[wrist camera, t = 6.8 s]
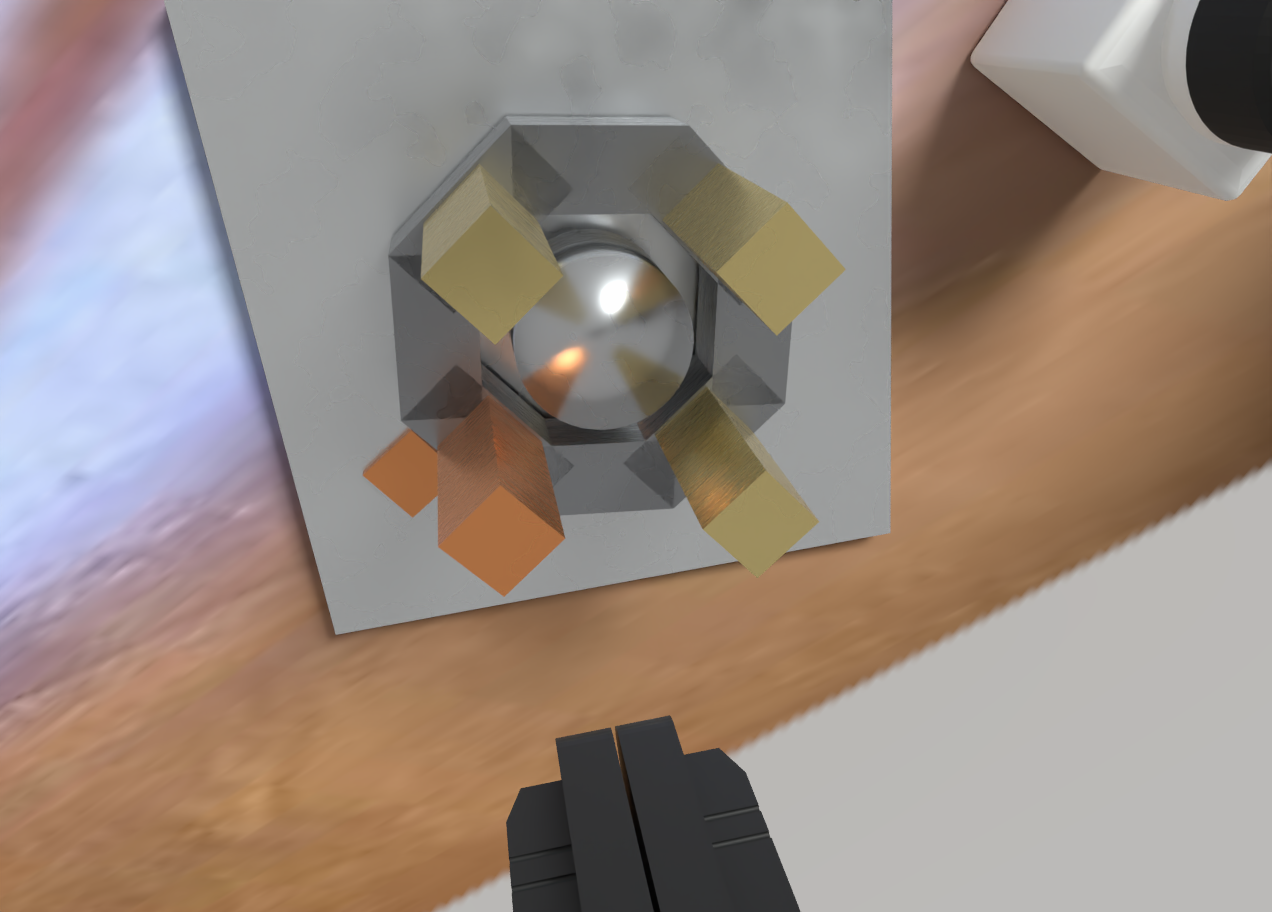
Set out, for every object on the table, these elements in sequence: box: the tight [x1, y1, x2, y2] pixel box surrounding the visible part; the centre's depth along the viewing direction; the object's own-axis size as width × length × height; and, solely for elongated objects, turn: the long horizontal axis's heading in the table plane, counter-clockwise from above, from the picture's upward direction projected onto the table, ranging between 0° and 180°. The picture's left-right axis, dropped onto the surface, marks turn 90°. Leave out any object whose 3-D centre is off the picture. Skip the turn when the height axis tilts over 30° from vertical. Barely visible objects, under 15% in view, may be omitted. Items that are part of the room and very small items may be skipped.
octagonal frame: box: [388, 116, 846, 597], centre depth 31 cm, size 13×13×9 cm
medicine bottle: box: [971, 0, 1272, 201], centre depth 30 cm, size 7×7×12 cm
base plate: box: [164, 0, 892, 635], centre depth 34 cm, size 22×22×5 cm
